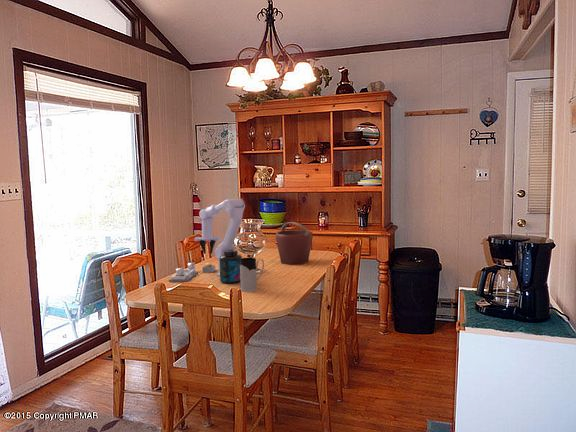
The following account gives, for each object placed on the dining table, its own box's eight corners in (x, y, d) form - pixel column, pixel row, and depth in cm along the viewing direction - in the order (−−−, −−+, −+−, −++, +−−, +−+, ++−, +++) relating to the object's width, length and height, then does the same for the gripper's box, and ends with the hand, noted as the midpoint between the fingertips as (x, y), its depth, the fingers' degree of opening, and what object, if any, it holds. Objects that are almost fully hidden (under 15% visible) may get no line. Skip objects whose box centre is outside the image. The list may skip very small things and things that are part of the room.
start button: (210, 270, 266) (210, 264, 266) (205, 270, 267) (205, 264, 266) (212, 268, 269) (211, 263, 269) (207, 268, 270) (206, 263, 269)
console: (212, 272, 265) (212, 267, 264) (202, 272, 265) (202, 267, 265) (215, 270, 271) (215, 265, 270) (205, 270, 271) (205, 265, 271)
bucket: (318, 264, 280) (317, 223, 277) (284, 267, 272) (282, 225, 269) (302, 257, 303) (301, 219, 300) (270, 260, 294) (268, 221, 292)
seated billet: (185, 277, 247) (184, 268, 247) (178, 279, 245) (177, 269, 245) (182, 276, 251) (182, 267, 250) (175, 277, 249) (175, 268, 248)
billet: (196, 271, 267) (195, 263, 267) (189, 272, 265) (189, 264, 265) (193, 270, 271) (193, 262, 270) (187, 271, 269) (186, 263, 268)
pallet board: (187, 281, 244) (187, 276, 243) (168, 281, 245) (168, 276, 244) (198, 273, 264) (197, 268, 263) (180, 273, 264) (180, 268, 264)
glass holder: (236, 289, 225) (235, 259, 223) (258, 284, 235) (257, 254, 233) (247, 292, 219) (246, 261, 217) (270, 287, 229) (269, 257, 227)
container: (221, 278, 248) (220, 249, 247) (243, 278, 248) (242, 248, 247) (218, 284, 237) (217, 253, 235) (242, 283, 237) (240, 252, 235)
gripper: (221, 228, 269) (221, 252, 270) (196, 229, 270) (197, 252, 272) (218, 230, 262) (219, 254, 263) (193, 230, 263) (194, 254, 265)
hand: (207, 253), depth 267 cm, fingers open, 3 cm apart
